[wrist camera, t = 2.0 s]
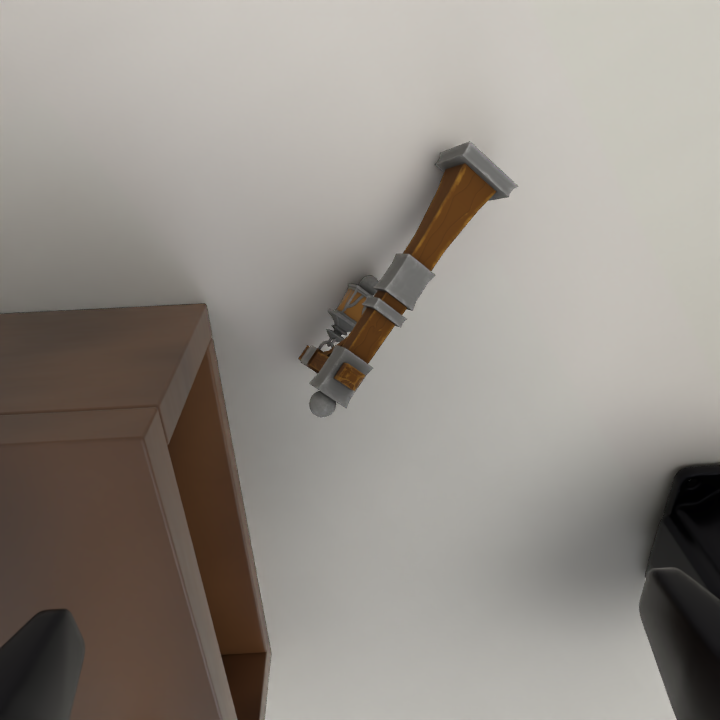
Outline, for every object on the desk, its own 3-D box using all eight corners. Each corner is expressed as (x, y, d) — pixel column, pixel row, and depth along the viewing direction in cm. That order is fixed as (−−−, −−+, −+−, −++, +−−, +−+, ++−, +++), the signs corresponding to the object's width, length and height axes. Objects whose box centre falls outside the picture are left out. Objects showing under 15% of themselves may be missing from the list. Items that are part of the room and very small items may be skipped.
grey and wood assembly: (267, 371, 19) (292, 405, 14) (407, 165, 19) (473, 139, 14) (313, 400, 19) (350, 441, 15) (448, 201, 19) (523, 185, 15)
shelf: (206, 302, 18) (120, 486, 11) (271, 652, 27) (248, 884, 20) (-113, 318, 18) (-419, 515, 11) (58, 665, 27) (-46, 903, 20)
